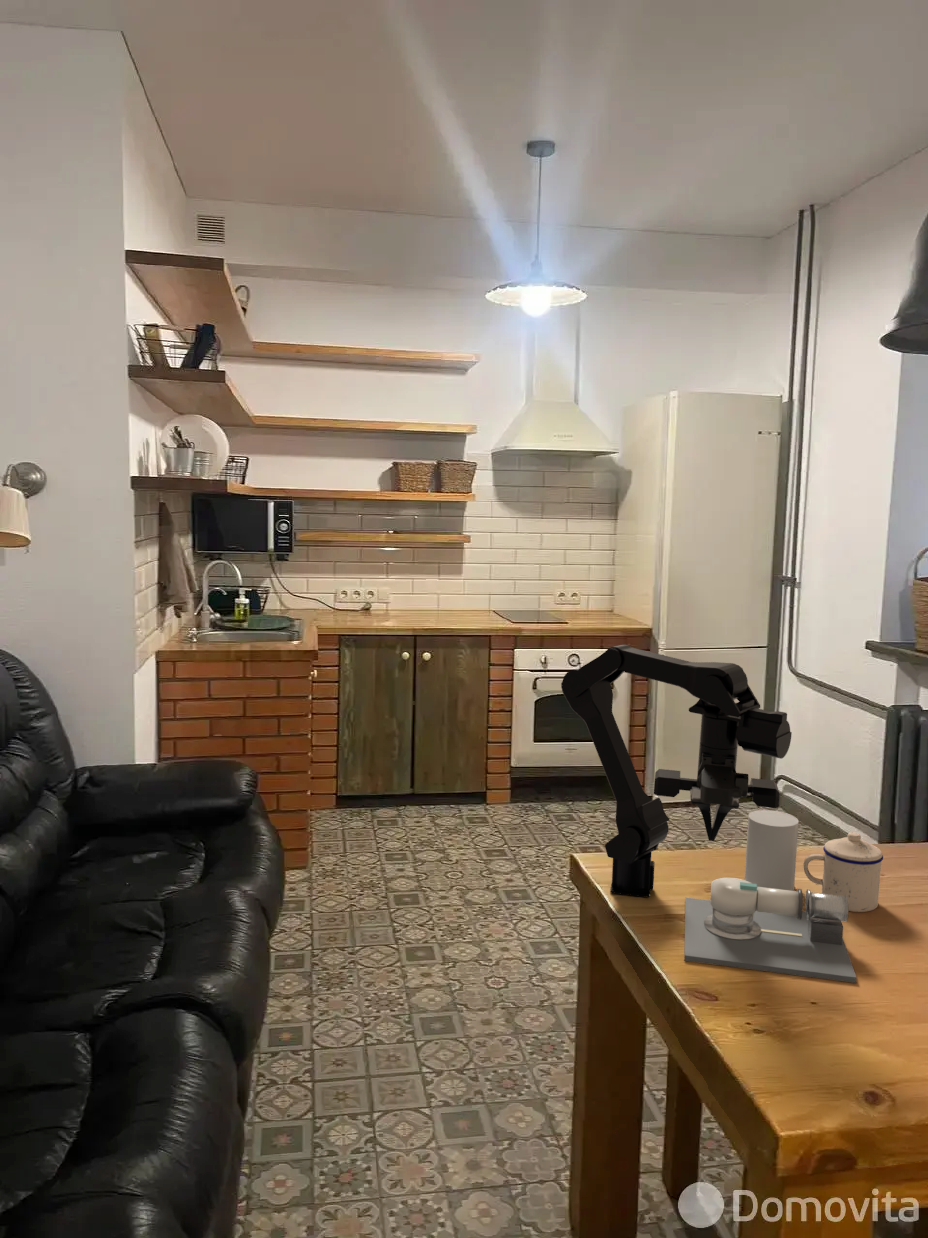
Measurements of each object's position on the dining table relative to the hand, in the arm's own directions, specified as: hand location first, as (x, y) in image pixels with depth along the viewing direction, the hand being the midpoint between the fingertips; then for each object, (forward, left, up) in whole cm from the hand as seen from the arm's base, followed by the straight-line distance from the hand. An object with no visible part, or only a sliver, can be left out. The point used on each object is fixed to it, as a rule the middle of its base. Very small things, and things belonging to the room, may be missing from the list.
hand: (711, 840), depth 146 cm
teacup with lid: (+22, +11, -12) cm, 27 cm away
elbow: (+7, -6, -9) cm, 12 cm away
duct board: (+8, -7, -12) cm, 16 cm away
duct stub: (+4, -6, -12) cm, 14 cm away
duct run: (+17, -6, -12) cm, 22 cm away
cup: (+11, +14, -12) cm, 22 cm away
